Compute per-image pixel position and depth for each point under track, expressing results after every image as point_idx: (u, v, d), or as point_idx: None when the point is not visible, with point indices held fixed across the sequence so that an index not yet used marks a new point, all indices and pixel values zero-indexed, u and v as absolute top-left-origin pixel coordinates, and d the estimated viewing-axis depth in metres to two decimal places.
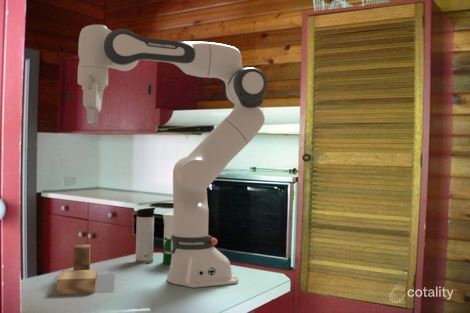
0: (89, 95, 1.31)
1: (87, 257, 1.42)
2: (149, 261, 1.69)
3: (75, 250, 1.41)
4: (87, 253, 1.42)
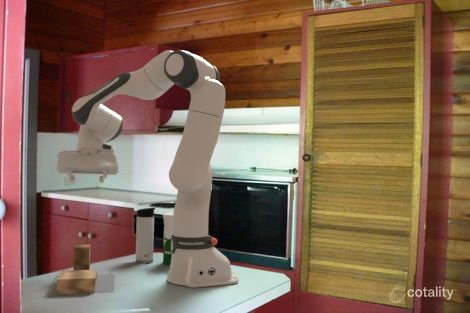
0: None
1: (87, 257, 1.42)
2: (149, 261, 1.69)
3: (75, 250, 1.41)
4: (87, 253, 1.42)
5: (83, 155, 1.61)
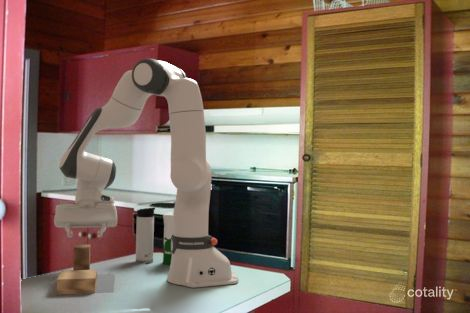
0: None
1: (87, 257, 1.42)
2: (149, 261, 1.69)
3: (75, 250, 1.41)
4: (87, 253, 1.42)
5: (81, 208, 1.57)
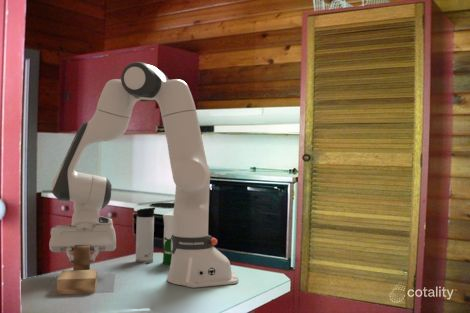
0: None
1: (87, 257, 1.42)
2: (149, 261, 1.69)
3: (75, 250, 1.41)
4: (87, 253, 1.42)
5: (78, 231, 1.49)
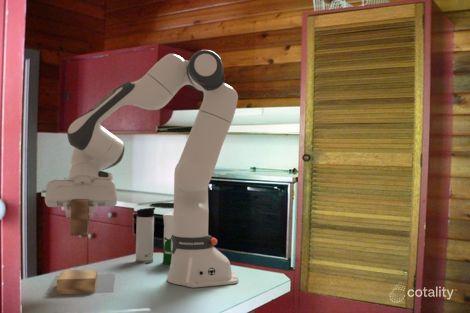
0: None
1: (85, 211, 1.32)
2: (149, 261, 1.69)
3: (72, 203, 1.31)
4: (85, 207, 1.32)
5: (76, 185, 1.39)
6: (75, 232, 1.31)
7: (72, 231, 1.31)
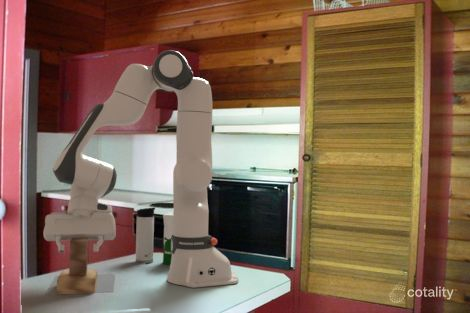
0: None
1: (84, 251, 1.31)
2: (149, 261, 1.69)
3: (71, 244, 1.30)
4: (84, 247, 1.31)
5: (75, 218, 1.38)
6: (74, 273, 1.31)
7: (70, 271, 1.30)
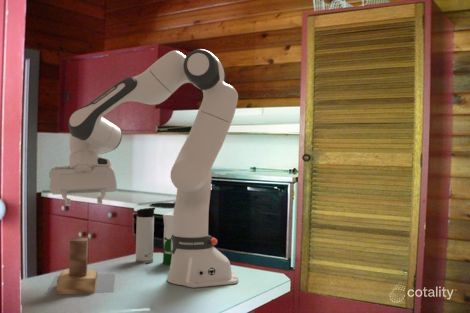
0: None
1: (84, 251, 1.31)
2: (149, 261, 1.69)
3: (71, 244, 1.30)
4: (84, 247, 1.31)
5: (77, 173, 1.48)
6: (74, 273, 1.31)
7: (70, 271, 1.30)
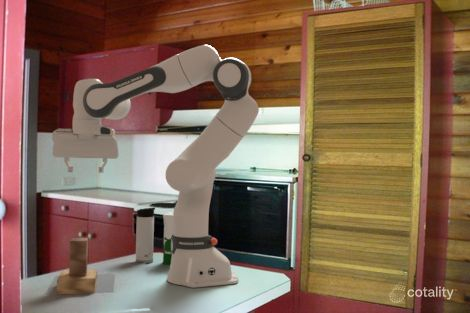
0: None
1: (84, 251, 1.31)
2: (149, 261, 1.69)
3: (71, 244, 1.30)
4: (84, 247, 1.31)
5: (80, 140, 1.48)
6: (74, 273, 1.31)
7: (70, 271, 1.30)
